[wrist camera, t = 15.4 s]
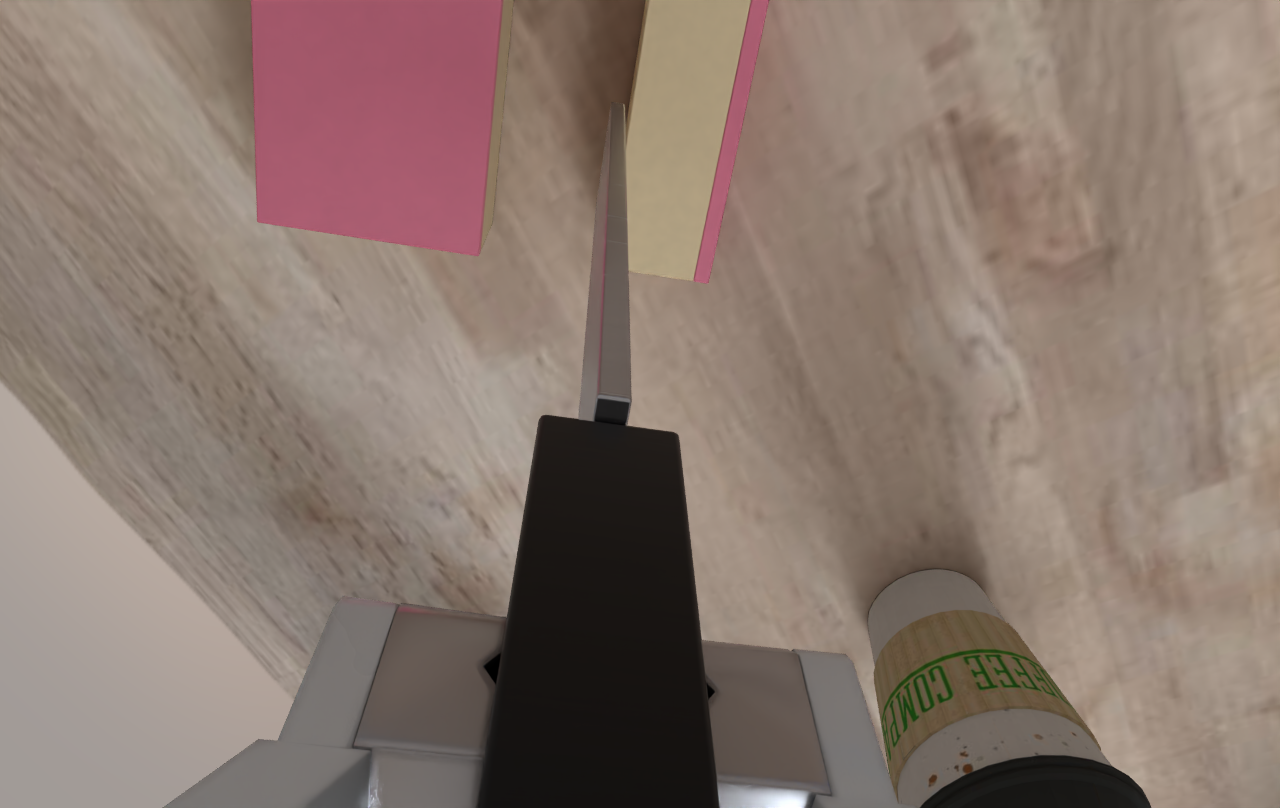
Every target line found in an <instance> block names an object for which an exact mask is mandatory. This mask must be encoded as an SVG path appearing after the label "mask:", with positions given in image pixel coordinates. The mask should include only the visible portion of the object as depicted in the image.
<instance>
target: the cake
mask: <svg viewBox="0 0 1280 808" xmlns="http://www.w3.org/2000/svg"><path fill="white" fill-rule="evenodd" d="M513 2H514V0H251V20H252V55H253V90H254V126H255V161H256V196H257V222H259V223H266V224H272V225H279V226H285V227H292V228H298V229H304V230H311V231H317V232H324V233H330V234H337V235H343V236H350V237H356V238H363V239H369V240H376V241H382V242H389V243H395V244H402V245H408V246H415V247H421V248H428V249H434V250H441V251H447V252H454V253H460V254H467V255H473V256H479V254H480V251H481V249H482V247H483V244H484V242H485V240H486V237H487V235H488V233H489V230H490V228H491V226H492V222H493V212H494V202H495V191H496V181H497V170H498V160H499V149H500V139H501V128H502V118H503V107H504V97H505V86H506V76H507V65H508V55H509V44H510V34H511V23H512V13H513Z"/></svg>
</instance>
